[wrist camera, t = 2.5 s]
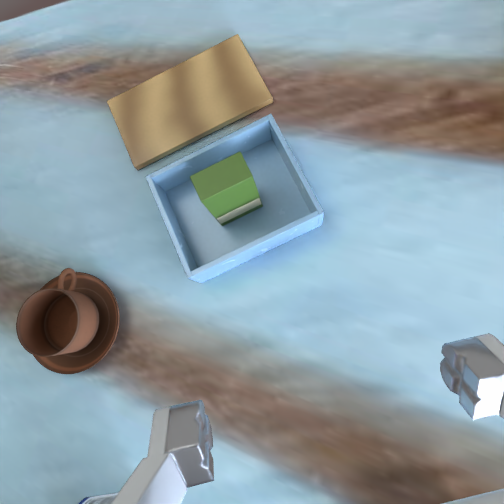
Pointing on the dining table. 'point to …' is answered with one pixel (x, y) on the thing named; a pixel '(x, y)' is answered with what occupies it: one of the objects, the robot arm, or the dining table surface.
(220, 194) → the block
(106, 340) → the cup and saucer
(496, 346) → the robot arm
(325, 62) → the dining table surface
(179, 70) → the board
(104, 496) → the blue food box
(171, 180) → the basin
